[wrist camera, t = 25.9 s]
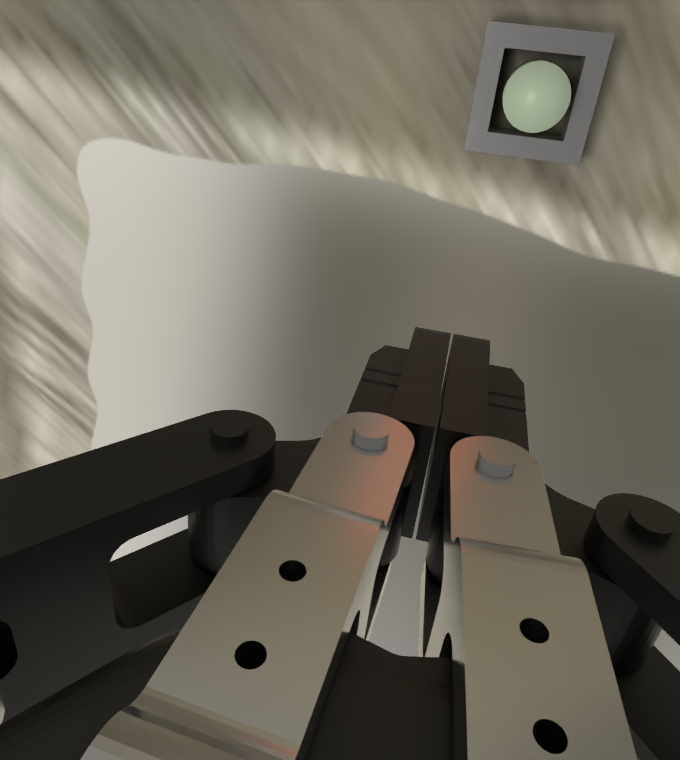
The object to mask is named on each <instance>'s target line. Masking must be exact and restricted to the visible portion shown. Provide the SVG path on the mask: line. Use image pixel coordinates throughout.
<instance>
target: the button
mask: <svg viewBox="0 0 680 760" xmlns="http://www.w3.org/2000/svg"><path fill="white" fill-rule="evenodd" d="M570 99H571V86H570V82H569V79H568V77H567V75H566V74H565V72H564V71H563V70H562V69H561V68H560V67H558V66H557V65H555V64H553V63H551V62H548V61H545V60H531V61H528V62H525V63H523V64H521V65H520V66H518V67H517V68H516V69H515V70H514V71H513V72H512V73H511V74H510V75H509V77H508V78H507V80H506V82H505V85H504V88H503V94H502V100H503V109H504V113H505V115H506V117H507V119H508V121H509V122H510V123H511V124H512V125H513V126H514V127H515V128H517V129H518V130H520V131H523V132H527V133H538V132H542V131H545V130H547V129H549V128H551V127H553V126H554V125H555V124H556V123H558V122H559V121H560V120H561V118H562V117H563V116H564V114H565V113H566V111H567V109H568V106H569V103H570Z"/></svg>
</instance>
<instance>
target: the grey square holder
mask: <svg viewBox="0 0 680 760" xmlns="http://www.w3.org/2000/svg"><path fill="white" fill-rule="evenodd" d="M614 37H615V34H613V33H603V32H594V31H584V30H574V29H564V28H554V27H544V26H534V25H524V24H514V23H504V22H494V21H488V22H487V27H486V33H485V38H484V43H483V49H482V54H481V60H480V65H479V71H478V76H477V81H476V87H475V92H474V98H473V103H472V109H471V114H470V119H469V125H468V130H467V136H466V141H465V147H464V150H466V151H474V152H481V153H489V154H496V155H504V156H511V157H519V158H526V159H534V160H541V161H549V162H557V163H564V164H572V165H579V163H580V159H581V156H582V152H583V149H584V145H585V141H586V138H587V134H588V131H589V127H590V123H591V120H592V116H593V113H594V109H595V106H596V102H597V98H598V95H599V91H600V88H601V84H602V80H603V77H604V73H605V70H606V66H607V62H608V59H609V55H610V52H611V48H612V44H613V41H614ZM504 48H513V49H522V50H531V51H541V52H550V53H559V54H569V55H578V56H580V60H579V64H578V67H577V71H576V75H575V79H574V83H573V87H572V91H571V99H570V103H569V106H568V109H567V111H566V114H565V118H564V122H563V126H562V130H561V134H560V136H557V135H550V134H542V133H527V132H523V131H518V130H510V129H502V128H494V127H489V123H490V118H491V113H492V108H493V103H494V98H495V93H496V88H497V83H498V78H499V73H500V68H501V63H502V58H503V53H504Z"/></svg>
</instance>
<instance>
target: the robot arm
mask: <svg viewBox="0 0 680 760" xmlns="http://www.w3.org/2000/svg"><path fill="white" fill-rule="evenodd" d="M449 341H450V333H445V332H440V331H434V330H429V329H423V328H418V327H416V328H415V330H414V334H413V337H412V341H411V344H410V347H409V350H408V349H402V348H397V347H392V346H386V345H385V346H384V347H382V348H381V349H379V350H377V351H376V352H374V353H373V354H371V355H370V358H369V360H368V363H367V365H366V368H365V370H364V372H363V375H362V377H361V381H360V382H359V385H358V387H357V390H356V392H355V395H354V397H353V399H352V402H351V404H350V407H349V409H348V412H347V414H345V415H342V416H340V417H338V418H336V419H335V420H333V421H332V422H331V423H330V425H329V426H328V428H327V429H326V431H325V433H324V434H323V436H322V437H321V438H317V439H313V440H306V441H275V438H276V434H275V430H274V428H273V427H272V426H271V424H270V423H269V422H268V421H267V420H265V419H264V418H262V417H260V416H258V415H256V414H253V413H250V412H246V411H239V410H221V411H215V412H211V413H207V414H204V415H201V416H198V417H195V418H191V419H188V420H185V421H182V422H179V423H176V424H173V425H169V426H167V427H164V428H160V429H157V430H154V431H151V432H148V433H144V434H141V435H139V436H135V437H132V438H129V439H126V440H123V441H120V442H116V443H113V444H110V445H107V446H104V447H101V448H98V449H94V450H91V451H88V452H85V453H82V454H79V455H76V456H73V457H69V458H66V459H63V460H60V461H57V462H54V463H51V464H48V465H44V466H41V467H38V468H35V469H32V470H29V471H26V472H23V473H19V474H16V475H13V476H10V477H7V478H4V479H1V480H0V760H680V672H679V671H678V670H677V668H675V667H674V665H673V664H672V663H670V661H669V660H668V659H667V658H666V657H665V656H664V655H663V654H662V653H661V652H659V650H658V649H657V648H656V647H655V646H654V643H655V641H656V640H657V637H658V636H659V634H660V632H661V630H662V629H663V630H664V631H666V632H667V634H669V636H671V637H672V638H673V639H674V640H675V641H676V642H677V643H678V644H679V645H680V513H678V512H677V511H675V510H674V509H672V508H670V507H669V506H667V505H665V504H663V503H661V502H658V501H656V500H653V499H651V498H648V497H644V496H641V495H635V494H626V493H621V494H613V495H609V496H606V497H604V498H603V499H602V500H600V502H599V503H598V504H597V506H596V509H593V508H590V507H588V506H585V505H583V504H581V503H578V502H576V501H574V500H571V499H569V498H567V497H565V496H563V495H561V494H560V493H558V492H556V491H554V490H553V489H552V488H550V487H549V486H547V485H546V484H545V482H544V477H543V473H542V469H541V466H540V464H539V463H538V461H537V460H536V459H535V458H534V456H533V455H531V454H530V453H529V447H528V434H527V420H526V414H525V411H526V408H525V401H524V400H525V394H524V383H523V382H522V381H521V379H520V378H519V377H518V376H517V375H516V373H515V372H514V371H513V369H510V368H505V367H500V366H494V365H489V358H490V341H489V340H485V339H479V338H473V337H468V336H463V335H457V334H454V335H453V339H452V344H451V349H450V354H449V358H448V363H447V368H446V373H445V377H444V371H445V365H446V358H447V353H448V347H449ZM443 377H444V383H443ZM442 383H443V387H442ZM441 390H442V392H441ZM440 396H441V397H440ZM430 450H431V451H430ZM429 455H430V457H429ZM428 460H429V464H428ZM427 465H428V469H427ZM426 469H427V475H426V481H425V488H424V493H423V499H422V505H421V512H420V518H419V523H418V529H417V536H416V539H417V540H422V541H426V542H428V549H427V556H426V560H425V564H424V568H423V573H422V578H421V592H420V593H421V595H420V616H419V637H418V638H419V639H418V657H408V656H399V655H396V654H393V653H390V652H389V651H386V650H384V649H383V648H381V647H379V646H377V645H375V644H373V643H371V642H369V638H370V635H371V631H372V628H373V625H374V622H375V618H376V615H377V612H378V609H379V605H380V602H381V599H382V596H383V592H384V590H385V586H386V583H387V580H388V577H389V573H390V568H391V563H392V560H393V559H394V557H395V556H396V554H397V552H398V549H399V544H400V538H401V536H404V537H408V538H412V536H413V531H414V526H415V522H416V517H417V512H418V507H419V503H420V498H421V493H422V488H423V484H424V479H425V474H426ZM186 515H188V529H185V530H183V531H181V532H179V533H176V534H174V535H172V536H169V537H167V538H165V539H162V540H160V541H158V542H155V543H153V544H151V545H148V546H146V547H144V548H142V549H139V550H137V551H135V552H132V553H130V554H128V555H125V556H123V557H121V558H119V559H116V560H114V561H111V562H110V559H111V557H112V555H113V554H114V552H115V551H116V550H117V549H118V548H119V547H120V546H121V545H122V544H123V543H125V542H126V541H128V540H129V539H132V538H134V537H136V536H138V535H141V534H143V533H145V532H148V531H150V530H153V529H155V528H157V527H160V526H162V525H165V524H167V523H169V522H172V521H174V520H176V519H179V518H181V517H184V516H186ZM182 627H183V628H182Z"/></svg>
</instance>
